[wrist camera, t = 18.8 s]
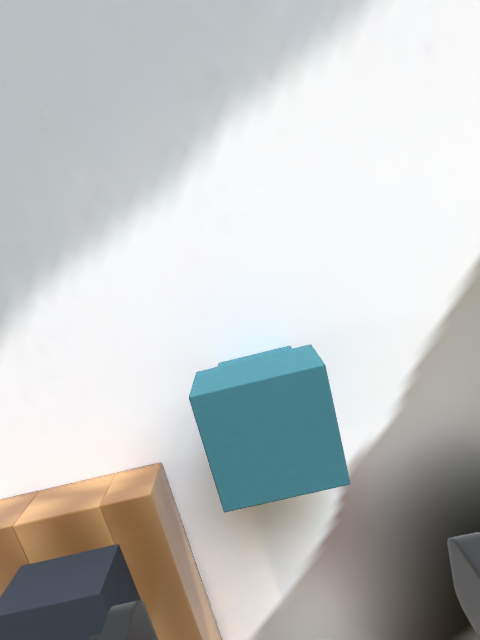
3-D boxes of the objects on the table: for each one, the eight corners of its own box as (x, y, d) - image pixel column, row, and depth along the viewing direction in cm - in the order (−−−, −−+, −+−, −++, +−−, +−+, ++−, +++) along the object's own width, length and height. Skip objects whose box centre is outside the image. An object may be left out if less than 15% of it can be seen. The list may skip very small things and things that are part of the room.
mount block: (95, 712, 28) (78, 768, 25) (-4, 500, 23) (-39, 537, 20) (236, 683, 27) (237, 737, 24) (161, 461, 23) (150, 494, 20)
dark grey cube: (78, 596, 25) (30, 704, 19) (47, 525, 24) (-15, 618, 18) (160, 577, 25) (137, 682, 19) (133, 505, 24) (99, 593, 18)
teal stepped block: (227, 442, 23) (224, 513, 17) (201, 353, 21) (188, 397, 15) (321, 420, 22) (351, 484, 16) (300, 329, 21) (325, 364, 15)
